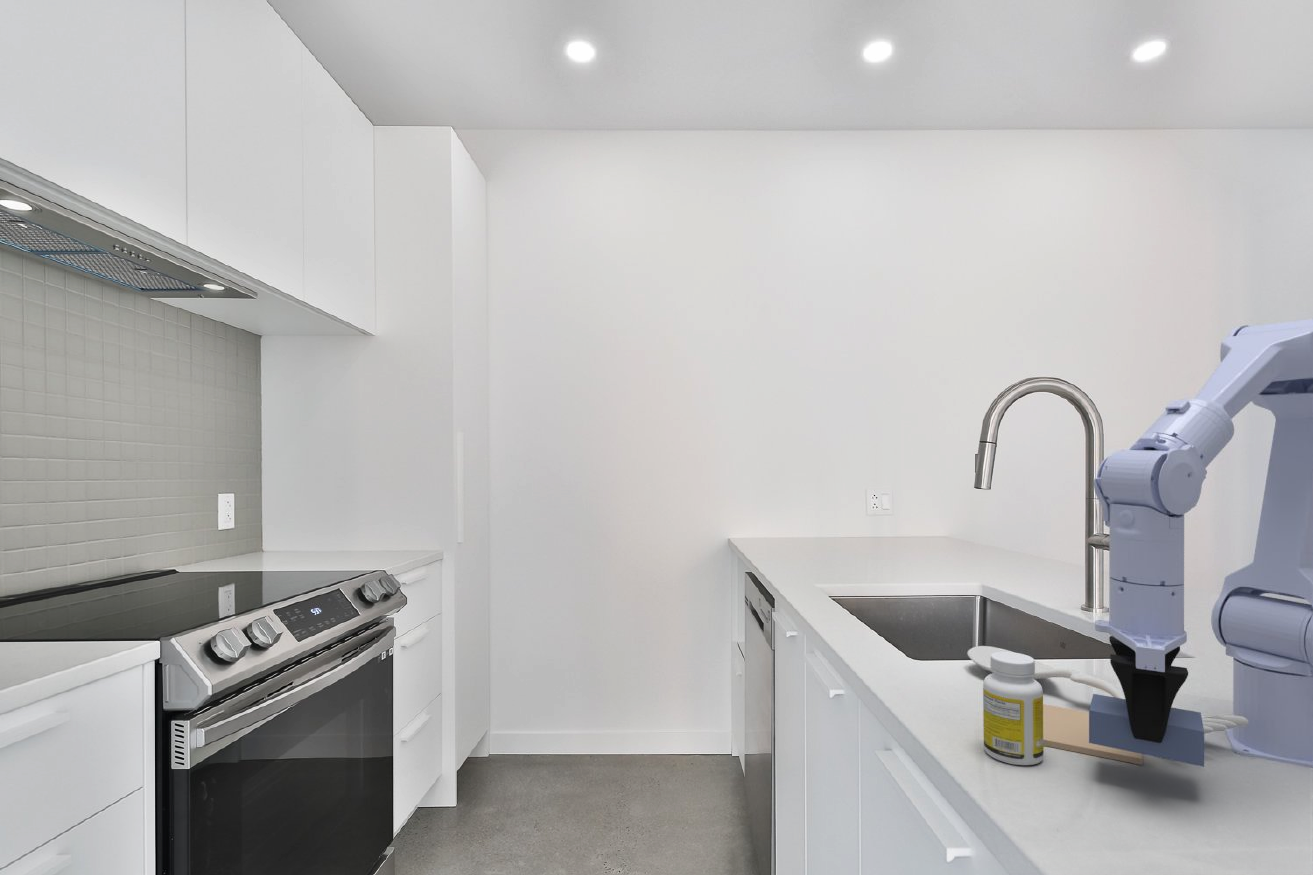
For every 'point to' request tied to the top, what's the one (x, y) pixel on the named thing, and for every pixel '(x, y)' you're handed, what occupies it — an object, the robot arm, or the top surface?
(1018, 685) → the supplement bottle
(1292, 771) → the top surface
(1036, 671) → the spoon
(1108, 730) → the card box
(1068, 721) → the flat tan board
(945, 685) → the top surface
